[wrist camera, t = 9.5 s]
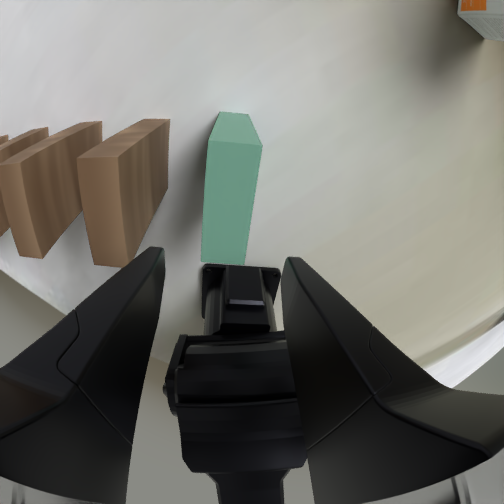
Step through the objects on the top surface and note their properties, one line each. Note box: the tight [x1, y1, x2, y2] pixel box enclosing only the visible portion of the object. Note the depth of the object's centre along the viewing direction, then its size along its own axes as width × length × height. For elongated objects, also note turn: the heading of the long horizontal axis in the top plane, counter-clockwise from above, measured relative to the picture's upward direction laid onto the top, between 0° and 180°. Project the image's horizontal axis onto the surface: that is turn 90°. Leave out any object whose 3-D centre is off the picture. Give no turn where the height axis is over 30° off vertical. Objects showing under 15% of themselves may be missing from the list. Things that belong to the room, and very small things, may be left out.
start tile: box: [201, 112, 262, 265], centre depth 14 cm, size 2×5×9 cm, turn 172°
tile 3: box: [0, 121, 102, 259], centre depth 13 cm, size 2×5×9 cm, turn 172°
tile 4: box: [0, 127, 49, 237], centre depth 12 cm, size 2×5×9 cm, turn 172°
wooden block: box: [77, 119, 170, 268], centre depth 13 cm, size 2×5×9 cm, turn 172°
